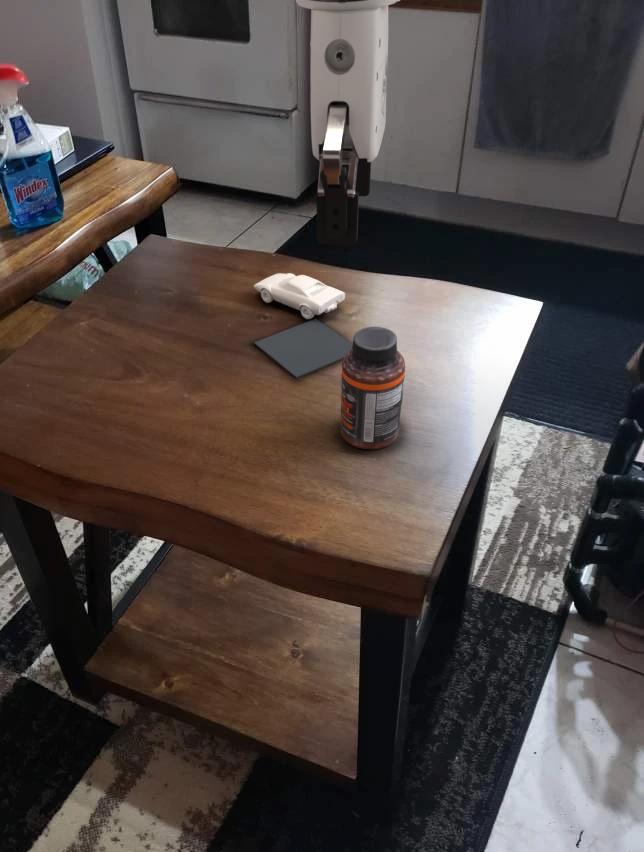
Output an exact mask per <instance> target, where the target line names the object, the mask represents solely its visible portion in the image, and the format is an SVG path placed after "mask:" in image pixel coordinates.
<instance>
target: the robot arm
mask: <svg viewBox="0 0 644 852" xmlns="http://www.w3.org/2000/svg"><path fill="white" fill-rule="evenodd" d="M400 1H401V0H295V4H296V5H297V6H299V7H301V8H304V9H309V10H310V12H311V13H310V42H309V46H310V74H309V75H310V89H309V91H310V133H311V134H310V136H311V150H312V155H313V157H314V158H315V159H316V160H318V161H319V171H318V181H317V182H318V183H317V191H316V241H317V243H318V244H320V245H331V246H332V245H333V246H354V245H356V244H357V241H358V233H359V198H360V197H368V196H369V195H370V191H371V174H372V172H371V171H372V162H373V161H374V160H375V159H376V158H377V157H378V155H379V152H380V149H381V146H382V141H383V137H384V133H385V129H386V122H387V88H388V87H387V85H388V84H387V83H388V64H389V63H388V61H389V6H390V5H394V4H396V3H397V2H400Z"/></svg>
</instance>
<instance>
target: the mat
mask: <svg viewBox="0 0 644 852" xmlns="http://www.w3.org/2000/svg"><path fill="white" fill-rule="evenodd" d="M253 344H254V346H256V347H257V348H258V349H259V350H261V351H262V352H263V353H264V354H266V355H267V356H268V357H269V358H270V359H271V360H273V361H274V362H275V363H277V364H278V365H279V366H280V367H281V368H283V369H284V370H285V371H286V372H288V373H289V375H291V376H293V377H294V379H299V378H301V377H303V376H304V377H305V376H306V375H309V374H311V373H313V372H315V371H318V370H320V369H323V368H327V367H328V366H330V365H333V364H335V363H337V362H339V361H343V359H344V357H345V355H346V354H347V353H348V352H349V351H350V350H351V349H352V346H353V343H351V342H349V341H348V340H346V338H344V337H343V336H341V335H340V334H338V333H337V332H336V331H334V330H333V329H332V328H330V327H328V326H327V325H325V323H323V322H321V321H320V320H319V319H318V318H312V319H310V320H308V321H306V322H303V323H301V324H298V325H296V326H295V325H294V326H293V327H290V328H288V329H285V330H283V331H280V332H277V333H275V334H272V335H270V336H267V337H264V338H262V339H259V340H256V341H254V342H253Z"/></svg>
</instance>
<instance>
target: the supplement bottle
mask: <svg viewBox="0 0 644 852" xmlns="http://www.w3.org/2000/svg"><path fill="white" fill-rule="evenodd" d="M352 340H353V341H352V345H353V346H352V349H351V350H350V351H349V352H348V353H347V354H346V355H345V357H344V359H342V363H341V389H340V390H341V392H340V393H341V394H340V397H341V398H340V432H341V435H342V438H343V439H344V440H345V441H346V442H347V443H349V444H350V445H352V446H354V447H356V448H359V449H365V450H378V449H383V448H385V447H388V446H389V445H392V444H393V443H394V442H395V441H396V439H397V437H398V436H399V433H400V428H401V418H402V406H403V397H404V386H405V385H404V384H405V377H406V375H405V374H406V361H405V358H404V356H403V355H402V354H401V352H400V351H399V350H398V336H397V334H396V333H395V332H394V331H393V330H391V329H389V328H386V327H383V326H367V327H364V328H361V329H359V330H357V331H356V332H355V333H354V335H353V338H352Z"/></svg>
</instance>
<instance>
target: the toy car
mask: <svg viewBox="0 0 644 852" xmlns="http://www.w3.org/2000/svg"><path fill="white" fill-rule="evenodd" d="M253 288H254V290H255V291H257V292H259V293H260V297H261V299H262V300H263V302H265V303H266V304H269V303H272V302H273V301H275V302H278V303H281V304H282V305H285V306H288V307H290V308H293V309H295V310H297V311H300V314H301V317H303V318H304V319H306V320H312V319H314V317H315V315H316V316H320V315H322V314H323V313H325V314H327V313H328V314H329V313H330V312H331V311H335V310H336V309H337V308H338V305H339V304H341V303H342V302H343V301H344V300H345V299H346V292H345V291H342V290H340V289H337V288H335V287H333V286H329V285H326V283H323V282H322V281H320V280H318V279H317V278H316V279H315V278H314V277H311V276H308V275H305V274H299V275H295V274H294V273H290V272H288V273H280V272H279V273H275V274H273V275H270V276H268V277H266V278H264V279H262V280H260V281H258V282H257V283H255V284H253Z"/></svg>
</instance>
